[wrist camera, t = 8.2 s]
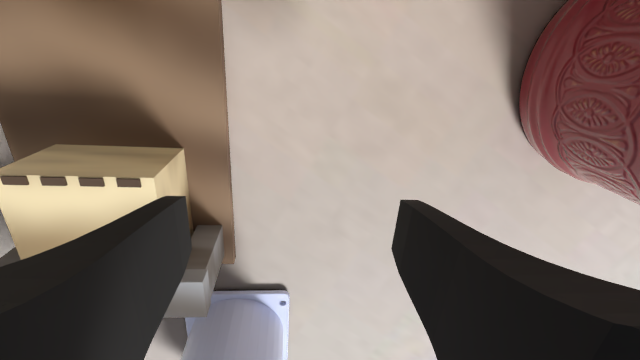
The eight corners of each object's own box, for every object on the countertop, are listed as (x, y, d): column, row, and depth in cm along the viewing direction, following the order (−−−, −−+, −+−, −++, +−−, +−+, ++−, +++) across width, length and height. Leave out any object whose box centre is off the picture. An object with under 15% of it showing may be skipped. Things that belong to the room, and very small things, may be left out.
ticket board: (235, 256, 23) (217, 327, 17) (58, 257, 22) (-24, 333, 16) (219, -36, 16) (178, -81, 10) (-48, -61, 14) (-269, -128, 9)
